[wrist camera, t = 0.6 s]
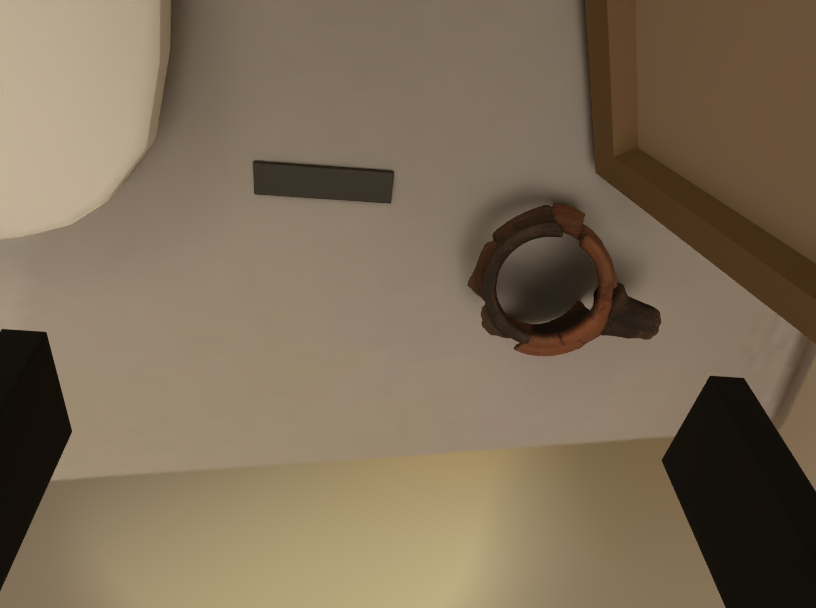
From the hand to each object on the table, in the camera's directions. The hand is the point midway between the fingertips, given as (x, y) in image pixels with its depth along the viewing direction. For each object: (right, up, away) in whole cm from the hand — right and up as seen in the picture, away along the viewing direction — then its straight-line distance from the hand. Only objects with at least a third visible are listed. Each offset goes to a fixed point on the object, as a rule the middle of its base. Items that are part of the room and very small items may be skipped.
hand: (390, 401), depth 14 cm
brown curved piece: (+10, +5, +30) cm, 32 cm away
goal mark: (-5, +9, +25) cm, 27 cm away
